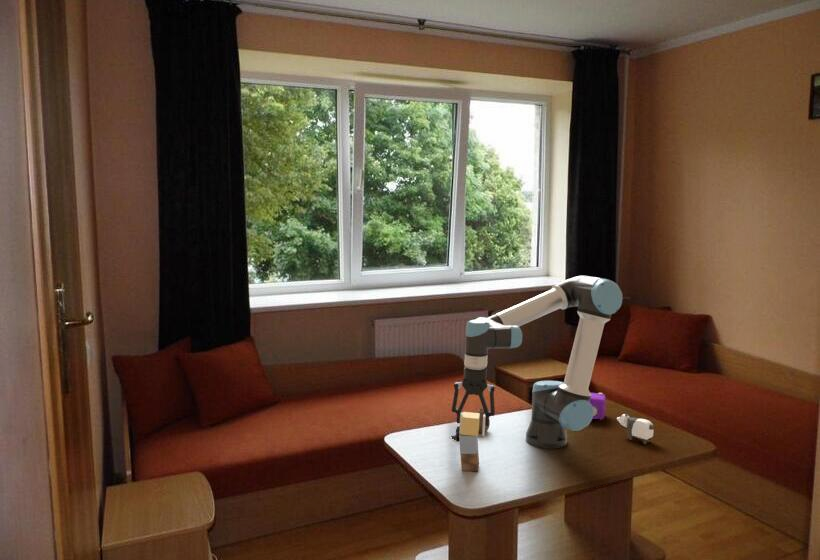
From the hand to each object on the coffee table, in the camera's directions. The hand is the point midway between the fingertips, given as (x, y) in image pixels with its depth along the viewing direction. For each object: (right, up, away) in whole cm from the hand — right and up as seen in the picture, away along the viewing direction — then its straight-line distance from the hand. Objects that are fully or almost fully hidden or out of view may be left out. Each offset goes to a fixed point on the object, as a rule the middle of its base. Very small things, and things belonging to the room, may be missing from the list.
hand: (472, 433), depth 207 cm
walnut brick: (0, -12, +1) cm, 12 cm away
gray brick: (-1, -6, +1) cm, 6 cm away
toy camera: (+56, -7, +54) cm, 78 cm away
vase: (+7, -8, +36) cm, 37 cm away
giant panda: (+66, -10, +30) cm, 73 cm away
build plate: (-1, -9, +29) cm, 31 cm away
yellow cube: (-1, 0, 0) cm, 1 cm away
